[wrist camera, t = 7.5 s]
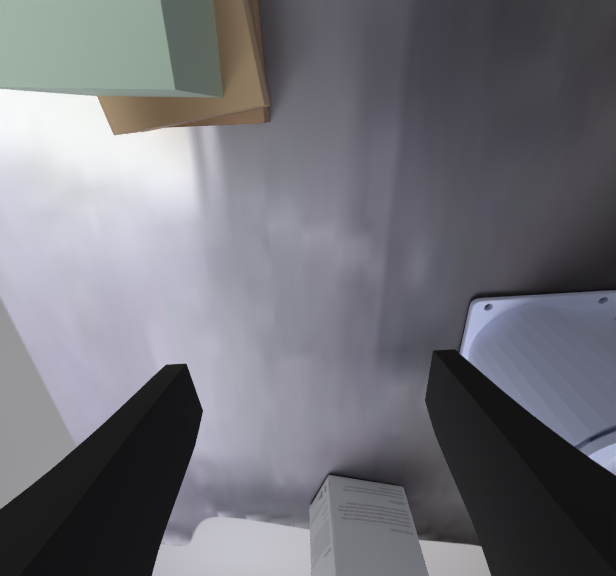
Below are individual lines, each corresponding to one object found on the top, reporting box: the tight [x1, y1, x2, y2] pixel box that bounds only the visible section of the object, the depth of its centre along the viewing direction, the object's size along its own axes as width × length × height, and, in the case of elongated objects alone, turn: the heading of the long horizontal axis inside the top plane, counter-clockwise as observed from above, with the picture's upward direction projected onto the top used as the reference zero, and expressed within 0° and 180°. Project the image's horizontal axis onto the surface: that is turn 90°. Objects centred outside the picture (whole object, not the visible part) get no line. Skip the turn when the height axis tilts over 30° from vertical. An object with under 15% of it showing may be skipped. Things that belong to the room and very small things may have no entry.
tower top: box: [97, 0, 271, 135], centre depth 11 cm, size 6×6×2 cm
